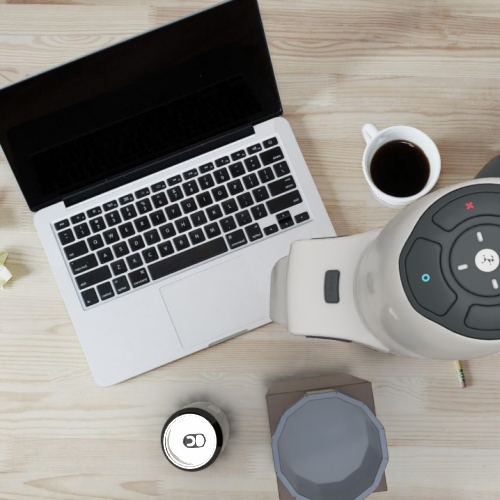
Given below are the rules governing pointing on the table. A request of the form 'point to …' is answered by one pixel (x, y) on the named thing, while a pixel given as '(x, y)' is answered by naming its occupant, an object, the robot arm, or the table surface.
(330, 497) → the bowl
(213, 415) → the beverage can
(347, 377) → the plinth
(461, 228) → the robot arm
